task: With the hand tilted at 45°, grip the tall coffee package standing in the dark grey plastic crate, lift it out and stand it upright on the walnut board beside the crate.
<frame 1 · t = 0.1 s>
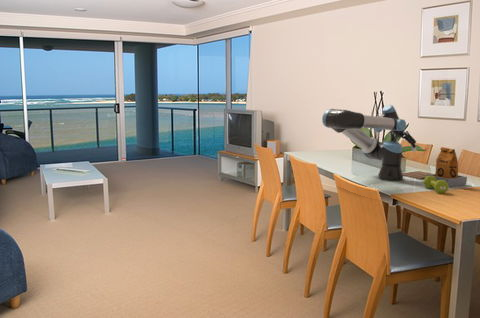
hand: (407, 150, 305), 15 cm above the table, tool tilted 35°, fingers open, 13 cm apart
dumbbell: (435, 190, 250), on the table
coffee package: (445, 184, 267), resting in crate
board: (420, 175, 292), on the table
crate: (445, 183, 267), on the table
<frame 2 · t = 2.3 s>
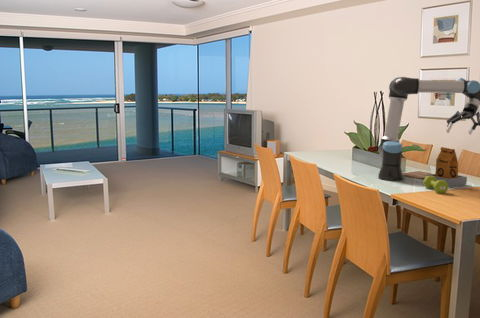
hand: (458, 132, 269), 31 cm above the table, tool tilted 45°, fingers open, 13 cm apart
nothing on the table moved.
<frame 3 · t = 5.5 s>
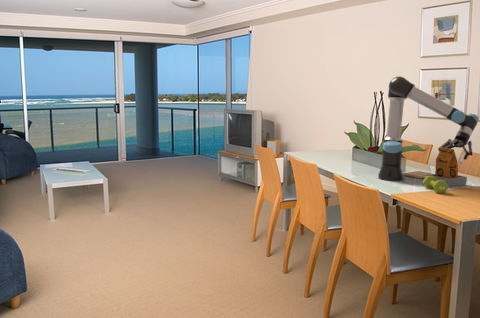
hand: (449, 161, 265), 14 cm above the table, tool tilted 45°, fingers open, 13 cm apart
coffee package: (445, 184, 267), resting in crate, touching gripper
everything else where it was.
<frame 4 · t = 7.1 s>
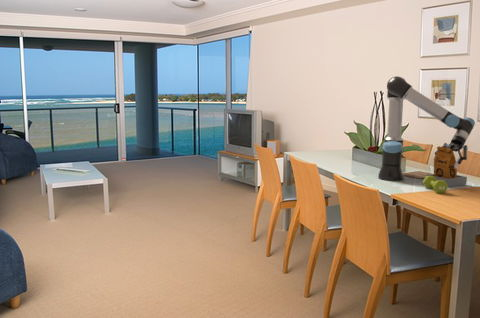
hand: (444, 165, 264), 11 cm above the table, tool tilted 45°, fingers closed on coffee package, 12 cm apart
coffee package: (445, 183, 267), point 1 cm above the table, touching gripper
everything else where it was.
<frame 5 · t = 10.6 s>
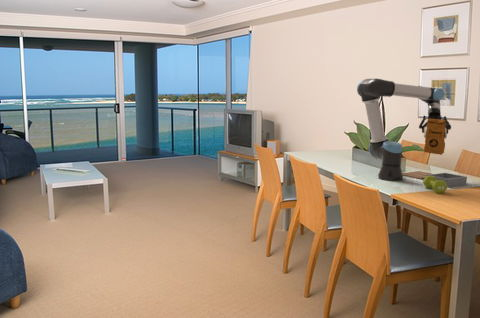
hand: (435, 136, 278), 27 cm above the table, tool tilted 45°, fingers closed on coffee package, 12 cm apart
coffee package: (433, 153, 282), point 16 cm above the table, touching gripper
everything else where it was.
when the fingers open (14 cm above the table, at t = 14.5 s): coffee package drops 2 cm, resting on board.
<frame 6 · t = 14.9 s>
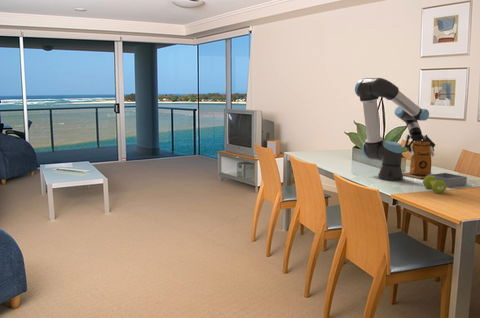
hand: (423, 155, 288), 14 cm above the table, tool tilted 45°, fingers open, 13 cm apart
coffee package: (420, 174, 291), point 1 cm above the table, touching board
everything else where it was.
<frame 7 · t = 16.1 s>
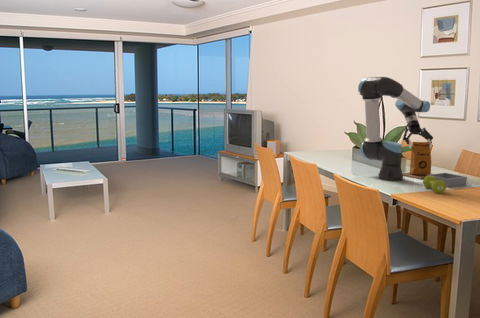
hand: (420, 147, 293), 18 cm above the table, tool tilted 45°, fingers open, 13 cm apart
nothing on the table moved.
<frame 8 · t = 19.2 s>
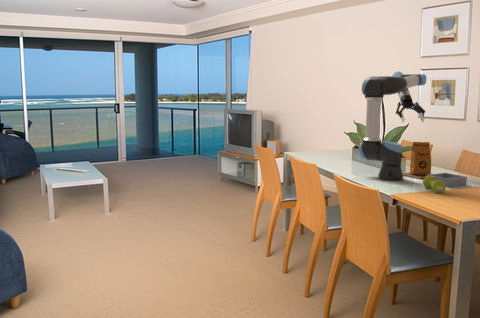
hand: (413, 120, 299), 36 cm above the table, tool tilted 45°, fingers open, 13 cm apart
nothing on the table moved.
at the end: coffee package inside the target area on the board (1.1 cm from its centre), point 0.8 cm above the board's base; coffee package tilted 0°; the gripper is holding nothing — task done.
